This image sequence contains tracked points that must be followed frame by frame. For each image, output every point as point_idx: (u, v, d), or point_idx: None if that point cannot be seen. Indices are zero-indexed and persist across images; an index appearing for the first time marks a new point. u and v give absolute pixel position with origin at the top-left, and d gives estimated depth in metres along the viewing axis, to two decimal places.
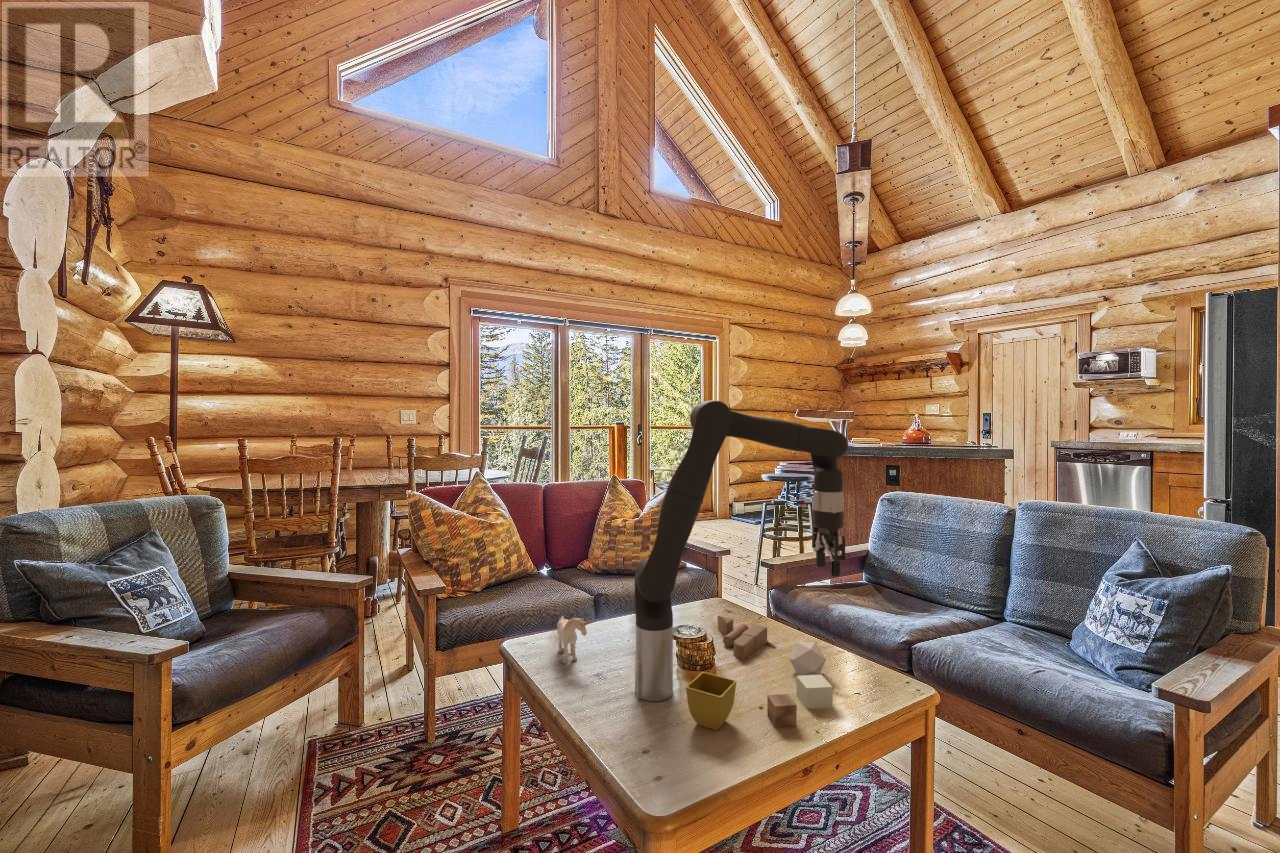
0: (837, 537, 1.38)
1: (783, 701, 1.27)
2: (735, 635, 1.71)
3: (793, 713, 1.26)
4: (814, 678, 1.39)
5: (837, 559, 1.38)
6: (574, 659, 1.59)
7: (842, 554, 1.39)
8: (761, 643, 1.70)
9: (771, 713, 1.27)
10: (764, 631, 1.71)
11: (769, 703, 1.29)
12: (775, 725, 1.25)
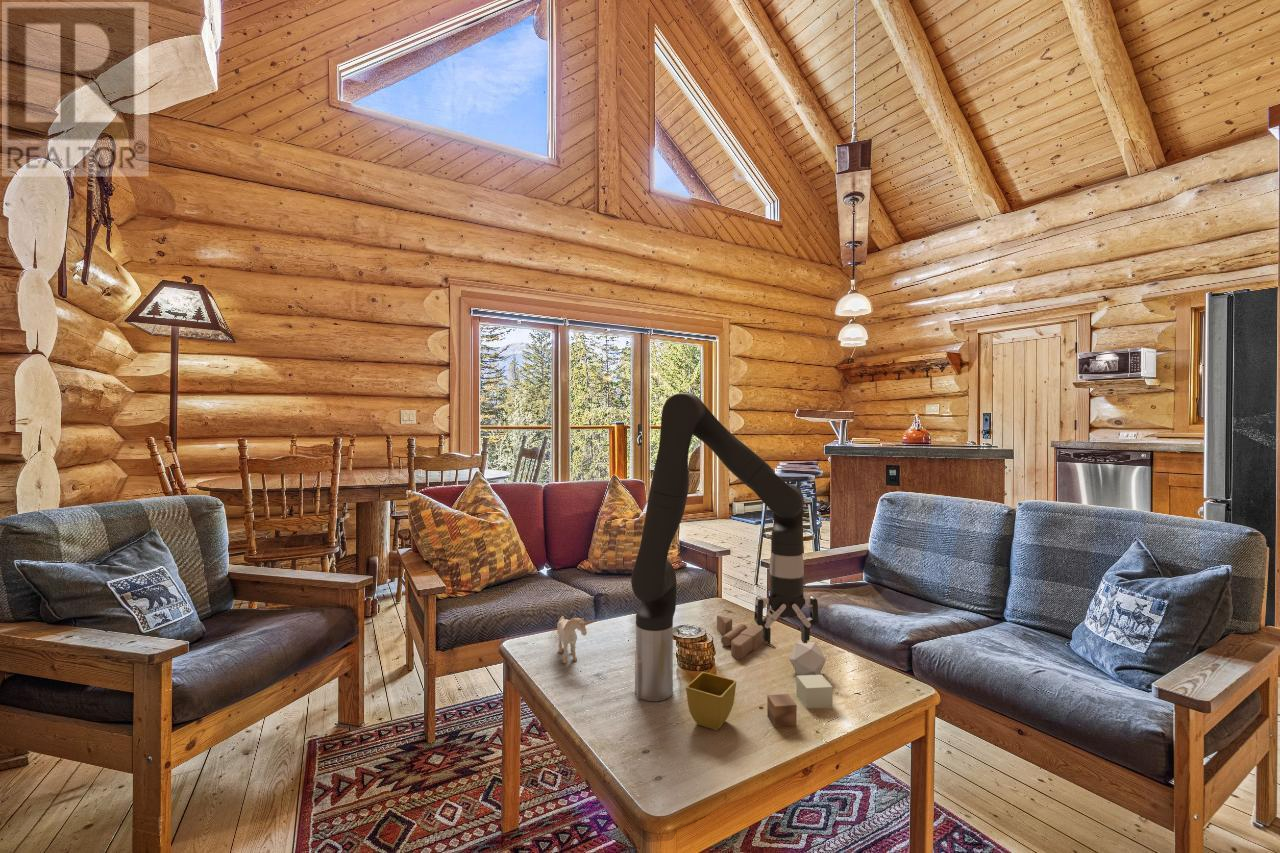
0: (815, 598, 1.29)
1: (783, 701, 1.27)
2: (733, 634, 1.71)
3: (793, 713, 1.26)
4: (814, 678, 1.39)
5: None
6: (574, 659, 1.59)
7: None
8: (759, 643, 1.69)
9: (771, 713, 1.27)
10: None
11: (769, 703, 1.29)
12: (775, 725, 1.25)
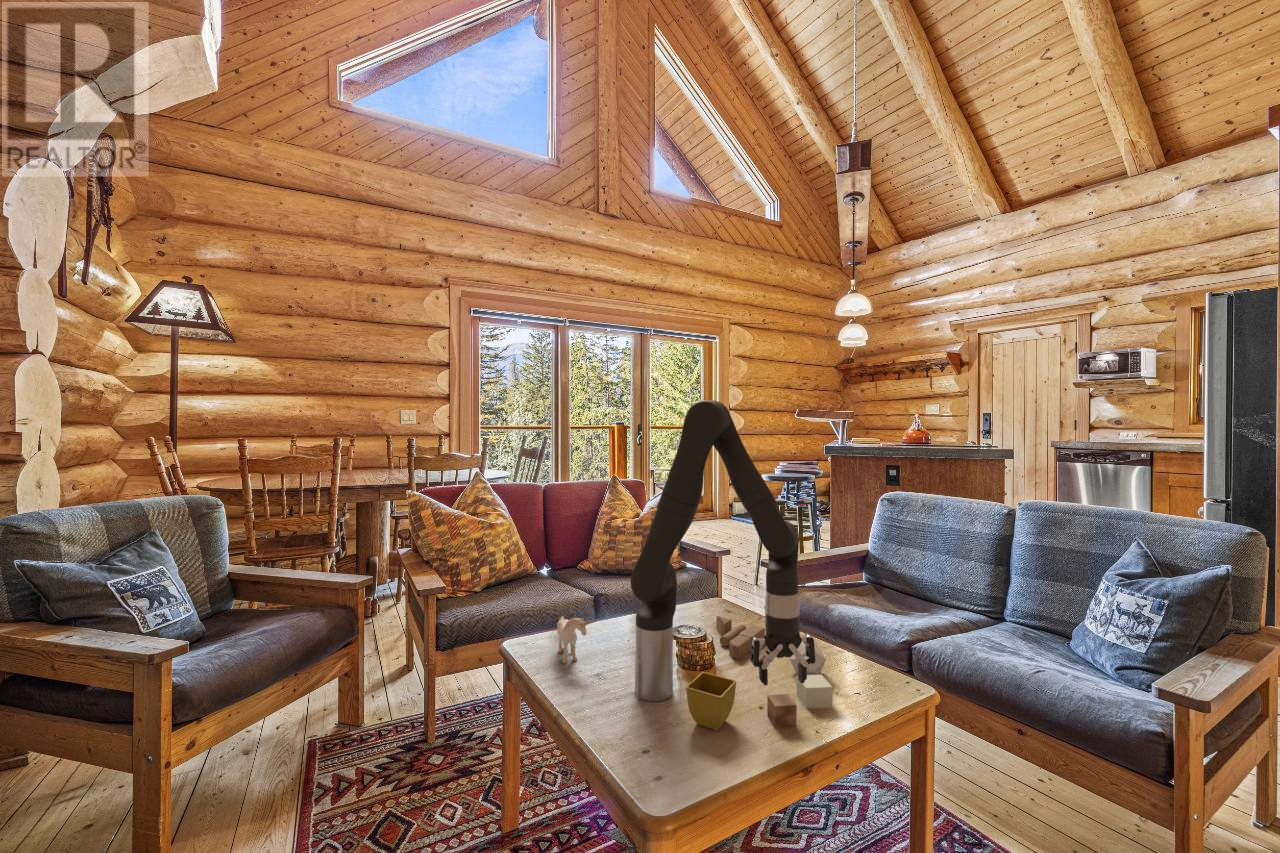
0: (812, 637, 1.28)
1: (783, 701, 1.27)
2: (732, 635, 1.71)
3: (793, 713, 1.26)
4: (814, 678, 1.39)
5: None
6: (574, 659, 1.59)
7: (809, 653, 1.29)
8: None
9: (771, 713, 1.27)
10: (761, 632, 1.71)
11: (769, 703, 1.29)
12: (775, 725, 1.25)
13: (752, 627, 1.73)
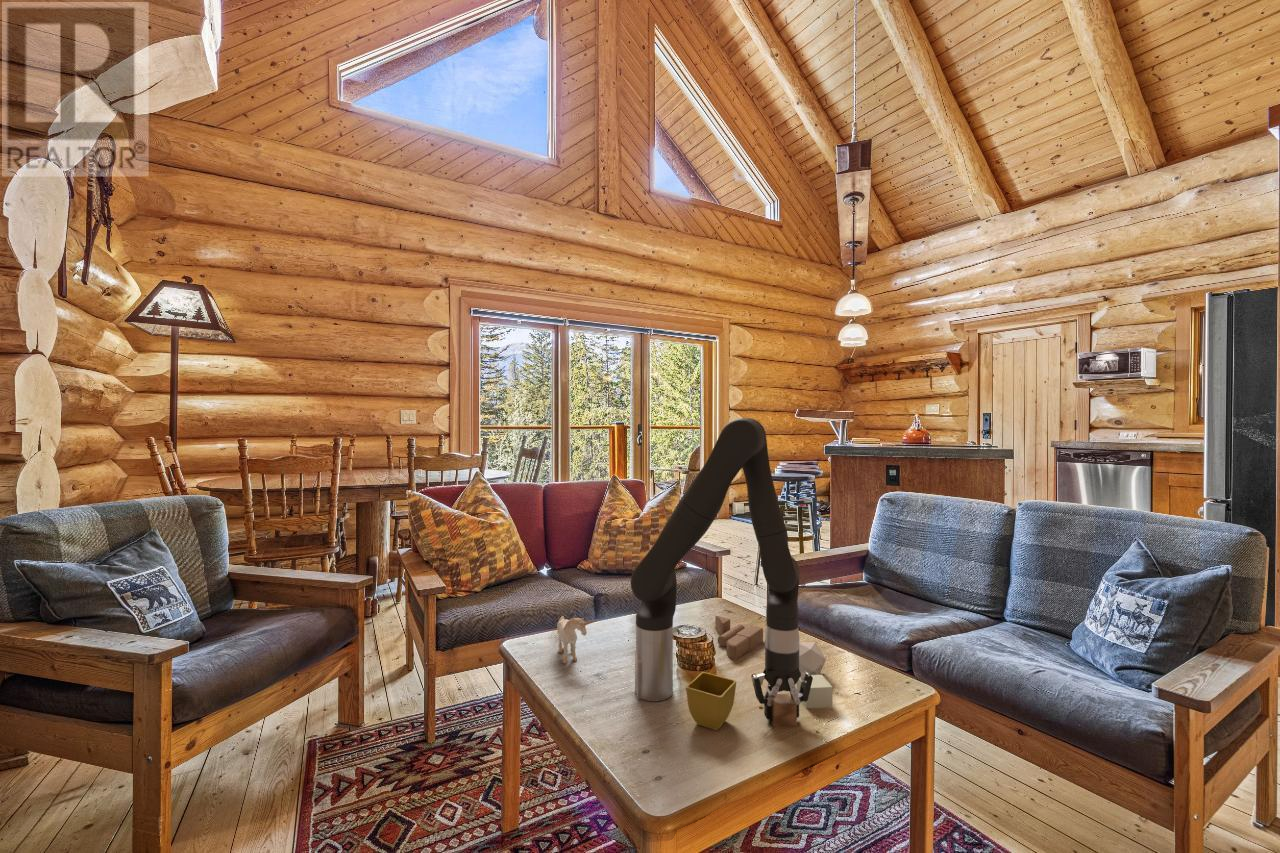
0: (811, 676, 1.28)
1: (783, 701, 1.27)
2: (730, 635, 1.71)
3: (793, 713, 1.26)
4: (814, 678, 1.39)
5: None
6: (574, 659, 1.59)
7: (803, 691, 1.29)
8: (756, 644, 1.69)
9: None
10: (759, 632, 1.71)
11: None
12: (775, 725, 1.25)
13: (750, 627, 1.73)
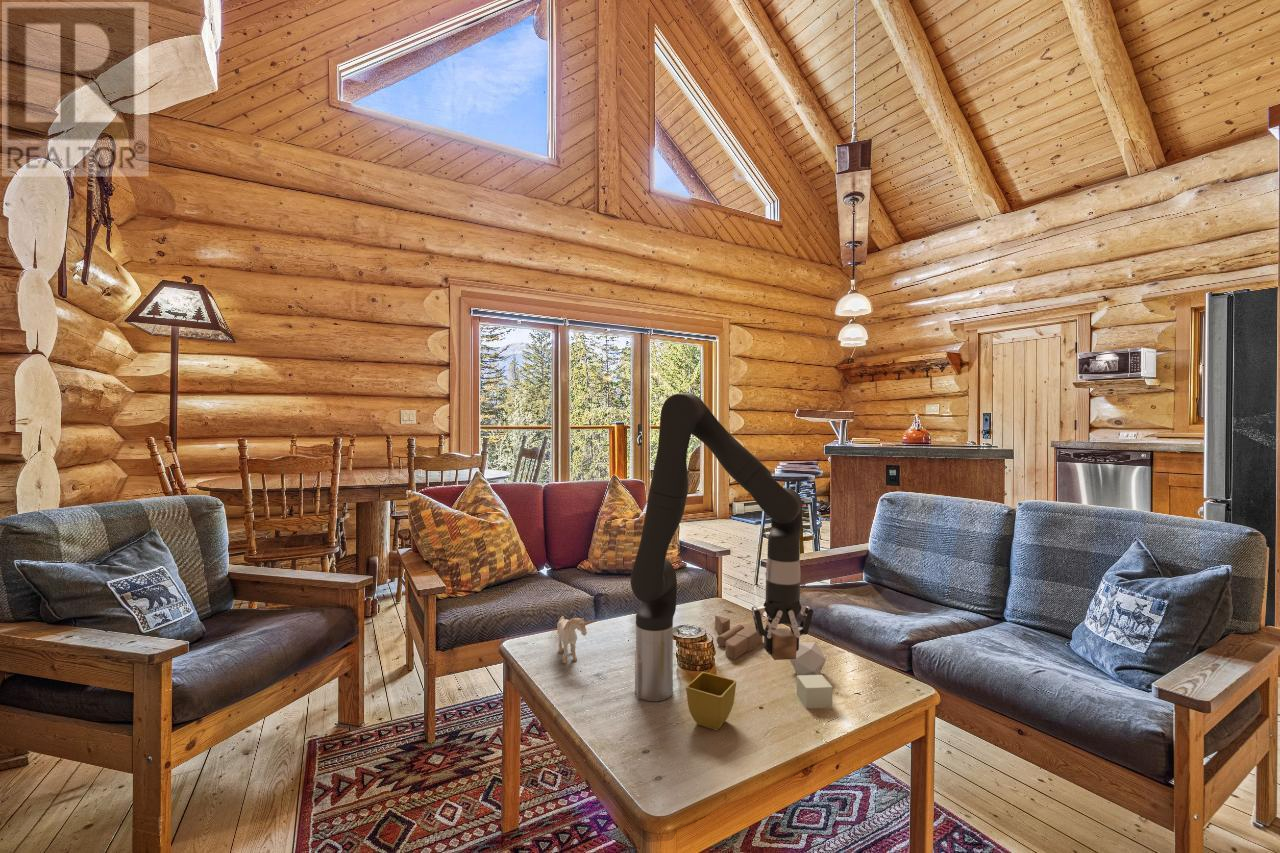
0: (811, 609, 1.28)
1: (783, 634, 1.27)
2: (729, 635, 1.71)
3: (792, 645, 1.25)
4: (814, 678, 1.39)
5: None
6: (574, 659, 1.59)
7: (803, 625, 1.29)
8: (755, 644, 1.69)
9: None
10: None
11: None
12: (775, 656, 1.25)
13: (750, 627, 1.73)
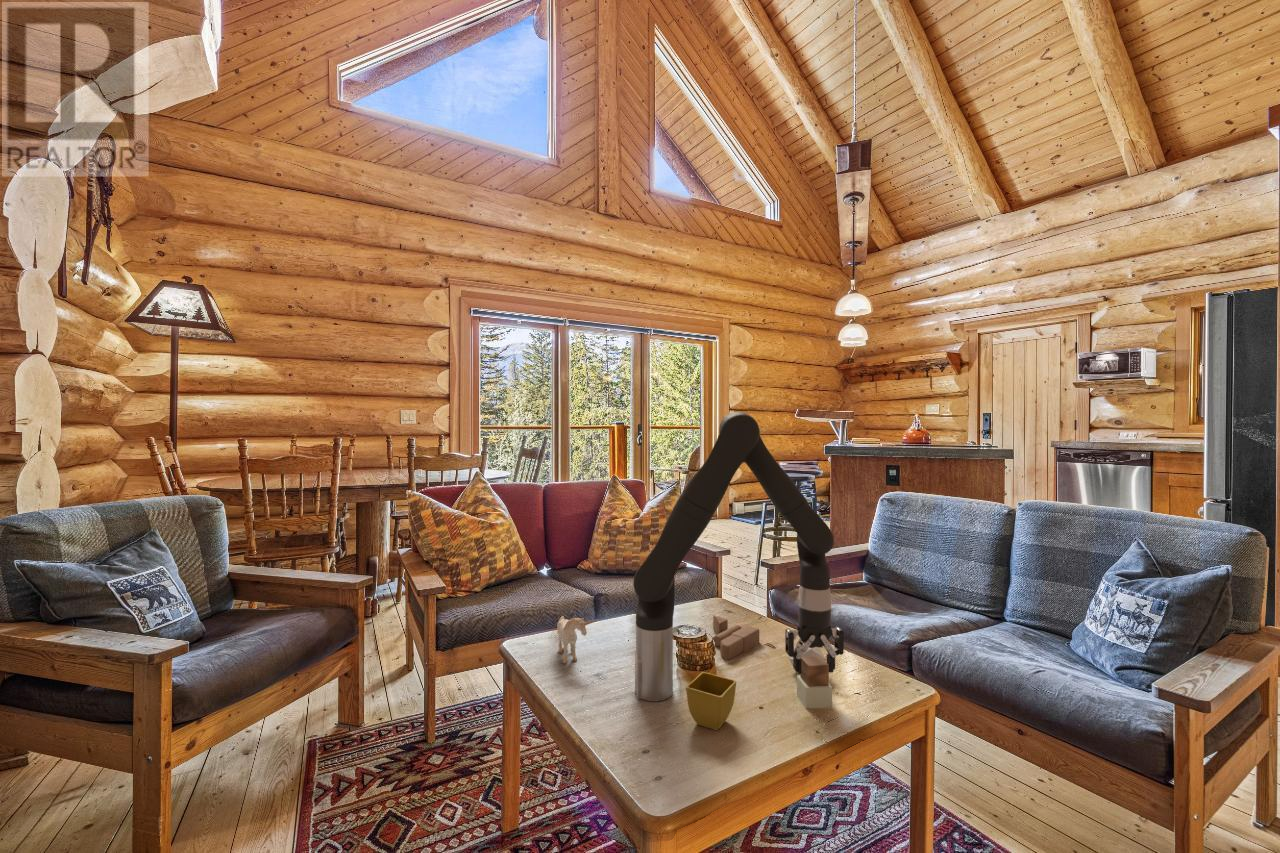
0: (842, 630, 1.37)
1: (815, 662, 1.36)
2: (725, 635, 1.71)
3: (825, 673, 1.35)
4: None
5: None
6: (574, 659, 1.59)
7: (837, 645, 1.38)
8: (751, 645, 1.69)
9: (805, 673, 1.36)
10: (755, 633, 1.70)
11: (802, 664, 1.38)
12: (809, 684, 1.34)
13: (746, 628, 1.73)
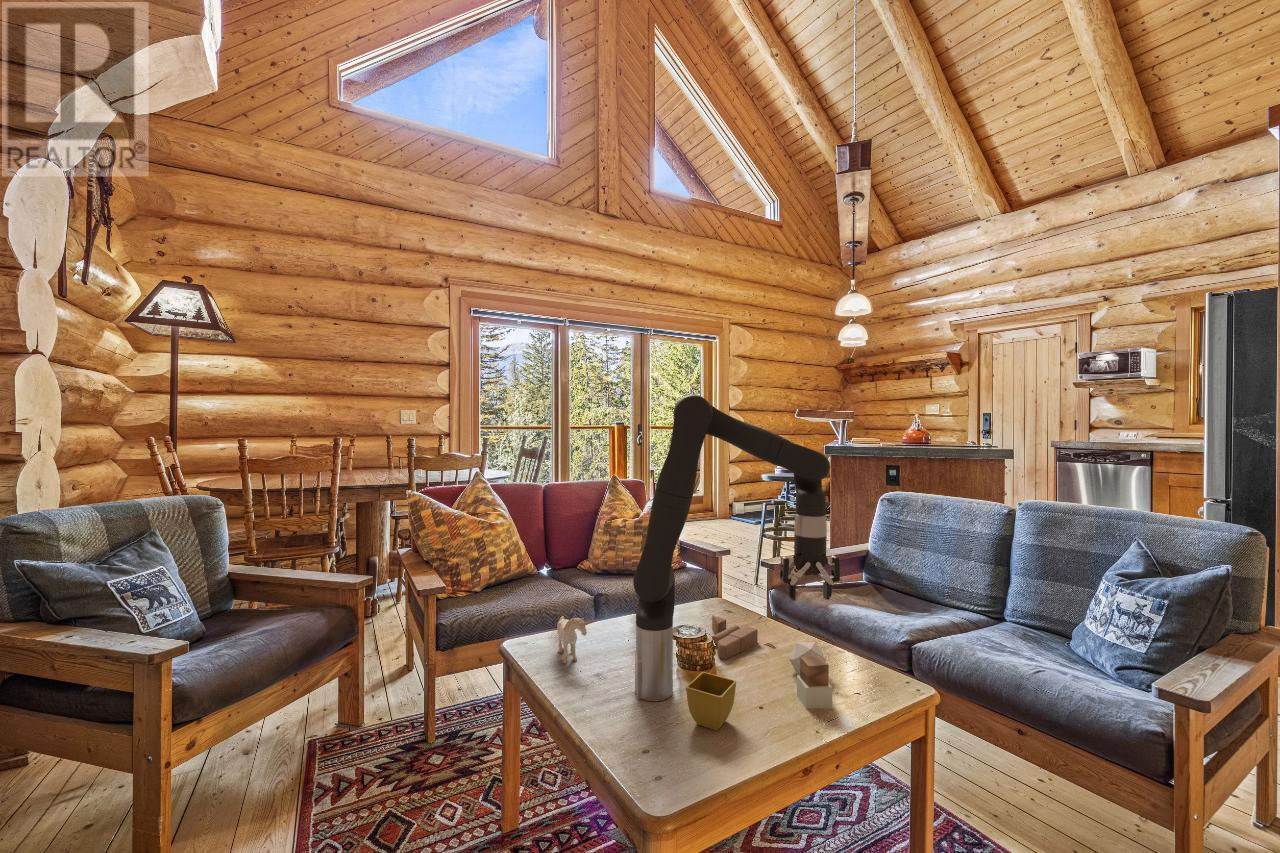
0: None
1: (815, 662, 1.36)
2: (723, 635, 1.71)
3: (825, 673, 1.35)
4: None
5: None
6: (574, 659, 1.59)
7: (834, 573, 1.39)
8: (749, 645, 1.68)
9: (804, 673, 1.36)
10: (753, 633, 1.70)
11: (802, 664, 1.38)
12: (809, 684, 1.34)
13: (745, 628, 1.72)
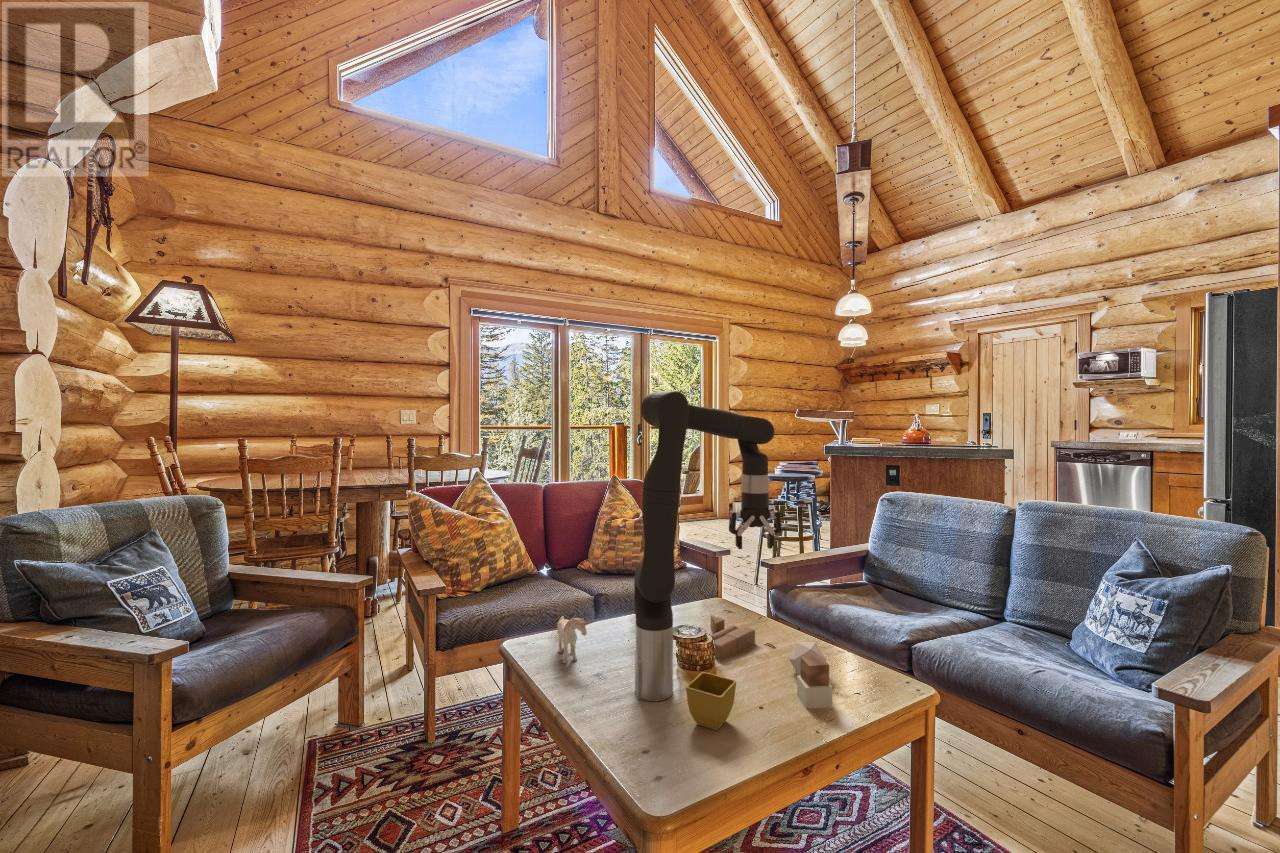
0: (778, 512, 1.57)
1: (816, 662, 1.36)
2: (720, 635, 1.71)
3: (825, 672, 1.35)
4: None
5: None
6: (574, 659, 1.59)
7: None
8: (746, 645, 1.68)
9: (805, 673, 1.36)
10: (750, 633, 1.70)
11: (802, 664, 1.38)
12: (809, 683, 1.34)
13: (742, 628, 1.72)
